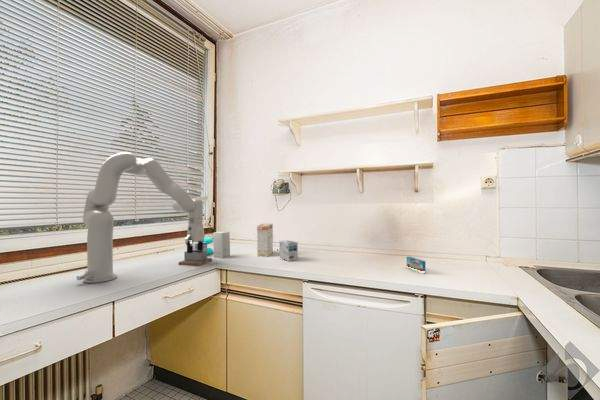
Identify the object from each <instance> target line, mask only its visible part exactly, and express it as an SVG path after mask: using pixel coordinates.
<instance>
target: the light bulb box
mask: <svg viewBox="0 0 600 400" xmlns="http://www.w3.org/2000/svg"><path fill="white" fill-rule="evenodd" d="M298 243H299V242H298V241H293V240H288V239H287V240H279V259H280V258H282V259H281V260H283V259H285V260H284V261H286V260H287V262H292V260H295V261H298V259H299V258H298V257H299V255H298V252H299V251H298V250H299V249H298V248H299V247H298V245H299V244H298Z"/></svg>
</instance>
